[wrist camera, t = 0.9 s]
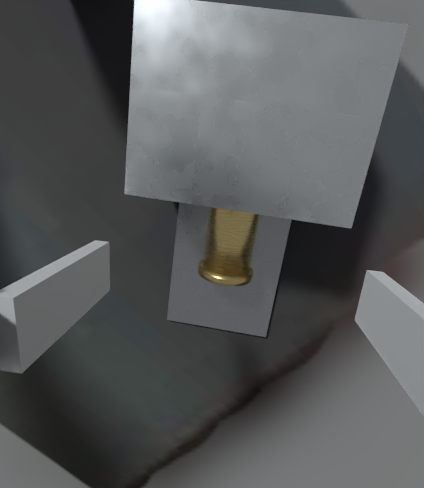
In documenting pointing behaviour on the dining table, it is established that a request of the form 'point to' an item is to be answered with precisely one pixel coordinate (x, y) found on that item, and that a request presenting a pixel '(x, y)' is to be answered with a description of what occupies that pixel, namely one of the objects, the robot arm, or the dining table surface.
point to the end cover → (229, 247)
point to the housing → (251, 132)
